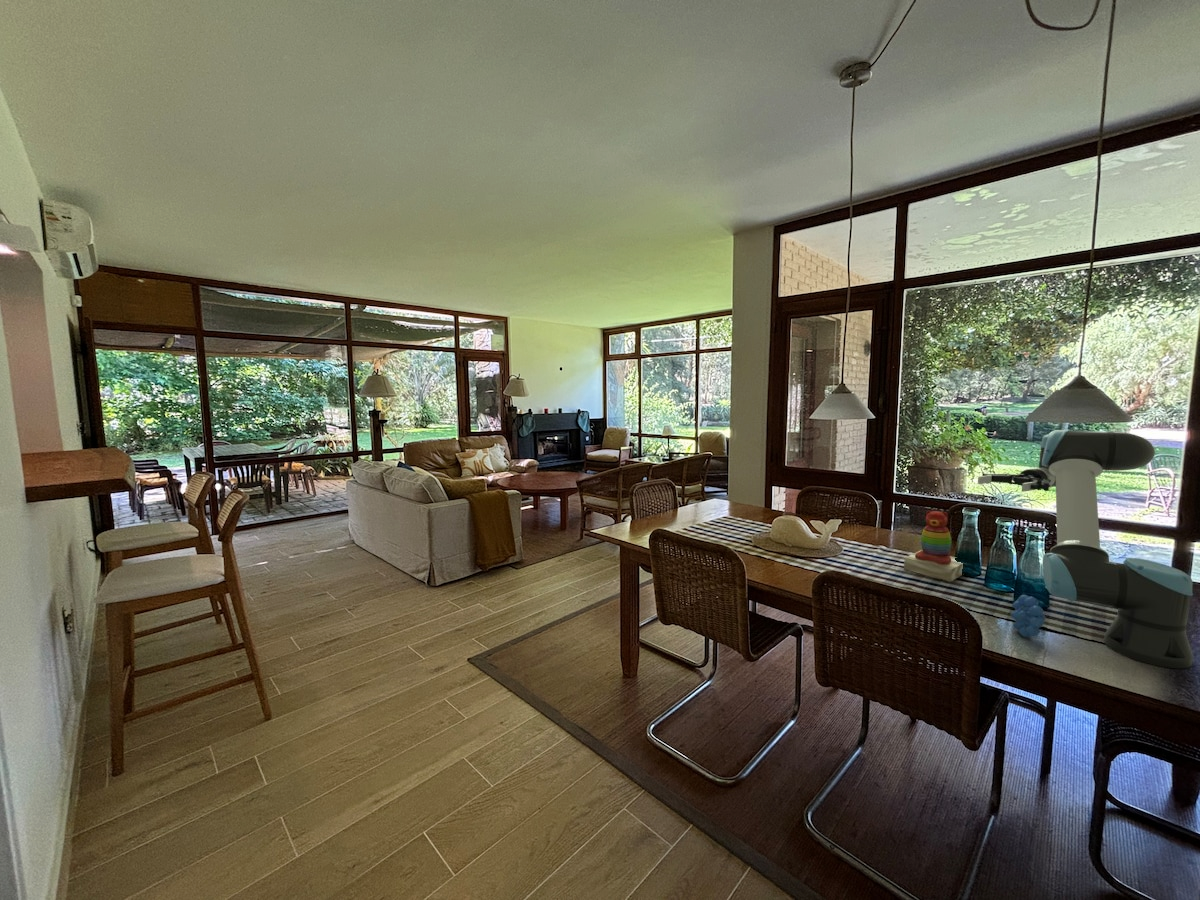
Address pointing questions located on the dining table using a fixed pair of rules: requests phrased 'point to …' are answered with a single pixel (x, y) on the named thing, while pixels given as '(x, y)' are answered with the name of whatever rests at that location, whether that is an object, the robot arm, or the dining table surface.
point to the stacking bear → (935, 539)
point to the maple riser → (934, 568)
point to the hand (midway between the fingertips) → (1000, 483)
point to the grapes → (1028, 616)
